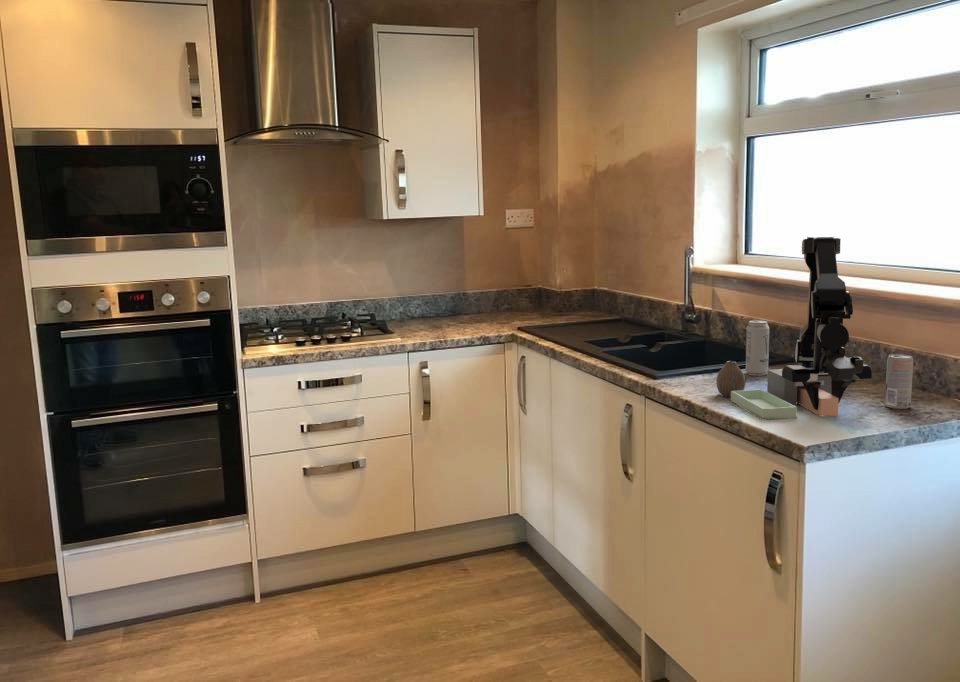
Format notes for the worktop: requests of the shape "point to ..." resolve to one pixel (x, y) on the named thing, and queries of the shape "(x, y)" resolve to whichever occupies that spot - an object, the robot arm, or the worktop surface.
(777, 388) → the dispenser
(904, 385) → the energy drink
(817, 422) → the worktop surface
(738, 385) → the vase
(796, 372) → the robot arm
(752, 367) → the energy drink can
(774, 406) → the tray
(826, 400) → the pink square pillar
